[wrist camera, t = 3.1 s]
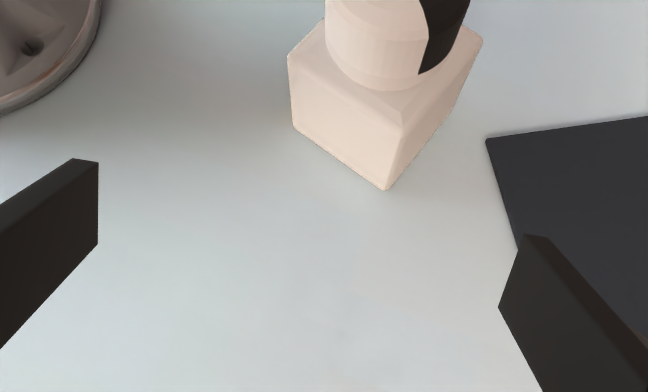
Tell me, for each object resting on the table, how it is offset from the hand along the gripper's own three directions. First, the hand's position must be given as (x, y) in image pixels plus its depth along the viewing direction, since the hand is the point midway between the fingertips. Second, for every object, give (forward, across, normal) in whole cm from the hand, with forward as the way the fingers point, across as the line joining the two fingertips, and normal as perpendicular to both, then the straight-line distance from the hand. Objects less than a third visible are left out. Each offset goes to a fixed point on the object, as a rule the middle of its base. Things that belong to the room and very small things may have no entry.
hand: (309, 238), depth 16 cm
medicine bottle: (+17, +3, 0) cm, 17 cm away
